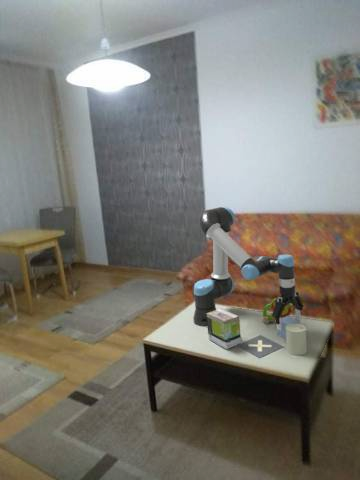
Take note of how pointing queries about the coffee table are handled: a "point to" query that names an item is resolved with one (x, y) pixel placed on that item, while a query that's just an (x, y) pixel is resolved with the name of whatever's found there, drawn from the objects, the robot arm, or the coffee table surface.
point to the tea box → (224, 328)
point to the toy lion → (268, 317)
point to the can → (296, 339)
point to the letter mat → (260, 346)
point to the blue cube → (285, 322)
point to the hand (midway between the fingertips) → (288, 325)
